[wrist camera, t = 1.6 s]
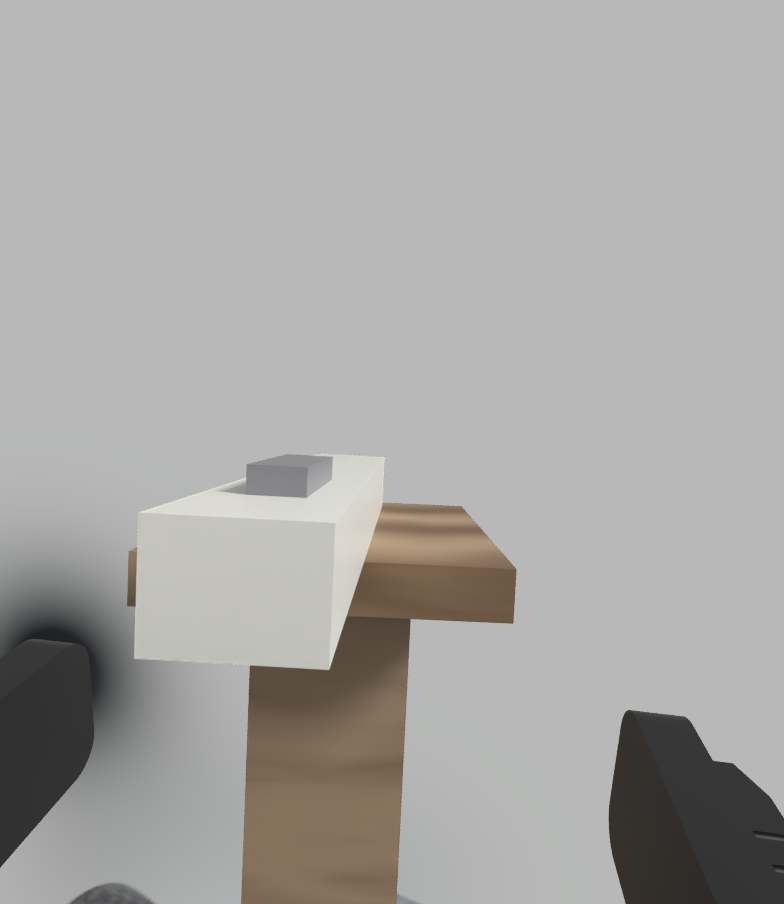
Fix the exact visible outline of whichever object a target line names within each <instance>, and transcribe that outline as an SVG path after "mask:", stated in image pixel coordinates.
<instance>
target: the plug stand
mask: <svg viewBox="0 0 784 904" xmlns="http://www.w3.org/2000/svg"><path fill="white" fill-rule="evenodd" d="M128 562H129V563H128V598H127V600H128V601H127V606H136V571H137V548H135V549H133V550H130V551H129V560H128ZM515 585H516V568H515V567H514V566H513V565H512V564H511V563H510V561H509V560H508V559H507V558H506V557H505V556H504V554H503V553H502V552H501V551H500V550H499V549H498V548H497V546H495V544H494V543H493V542H492V541H491V540H490V539H489V537H488V536H487V535H486V534H485V533H484V532H483V530H482V529H481V528H480V527H479V526H478V525H477V524H476V522H475V521H474V520H473V519H472V518H471V517H470V516H469V515H468V514H467V512H466V511H465V510H464V509H463V508H462V507H461V506H442V505H440V506H439V505H419V504H400V503H382V508H381V511H380V514H379V517H378V521H377V524H376V527H375V530H374V533H373V536H372V539H371V542H370V545H369V548H368V551H367V555H366V558H365V561H364V564H363V567H362V570H361V573H360V576H359V579H358V582H357V585H356V589H355V592H354V595H353V598H352V601H351V604H350V607H349V610H348V613H347V616H346V619H345V623H344V626H343V629H342V632H341V635H340V638H339V641H338V644H337V647H336V650H335V653H334V657H333V660H332V663H331V666H330V669H329V670H321V669H304V668H287V667H270V666H253V665H250V678H249V705H248V733H247V734H248V735H247V760H246V761H247V762H246V787H245V815H244V842H243V870H242V897H241V904H396V898H397V878H398V857H399V838H400V837H399V836H400V818H401V798H402V777H403V758H404V737H405V718H406V698H407V677H408V658H409V638H410V619H425V620H446V621H447V620H448V621H467V622H490V623H512V624H513V618H514V601H515Z"/></svg>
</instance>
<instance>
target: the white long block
mask: <svg viewBox="0 0 784 904" xmlns="http://www.w3.org/2000/svg"><path fill="white" fill-rule="evenodd" d="M384 461H385V457H378V456H358V455H338V454H317V455H314V456H308V455H283V456H279V457H275V458H271V459H266V460H263V461H258V462H254V463H250V464H247V473H246V478H243V479H240V480H237V481H234V482H231V483H228V484H225V485H222V486H219V487H215V488H213V489H209V490H206V491H203V492H200V493H197V494H194V495H191V496H188V497H185V498H182V499H179V500H175V501H173V502H169V503H166V504H163V505H160V506H157V507H154V508H151V509H148V510H145V511H142V512H139V513H138V535H137V571H136V609H135V646H134V649H135V650H134V658H136V659H152V660H169V661H185V662H186V661H187V662H202V663H203V662H204V663H220V664H236V665H253V666H270V667H287V668H304V669H321V670H329V669H330V666H331V663H332V660H333V657H334V653H335V650H336V647H337V644H338V641H339V638H340V635H341V632H342V629H343V626H344V623H345V619H346V616H347V613H348V610H349V607H350V604H351V601H352V598H353V595H354V592H355V589H356V585H357V582H358V579H359V576H360V573H361V570H362V567H363V564H364V561H365V558H366V555H367V551H368V548H369V545H370V542H371V539H372V536H373V533H374V530H375V527H376V524H377V521H378V517H379V514H380V511H381V508H382V503H383V482H384Z"/></svg>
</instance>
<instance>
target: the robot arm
mask: <svg viewBox="0 0 784 904" xmlns="http://www.w3.org/2000/svg"><path fill="white" fill-rule="evenodd" d="M93 740H94V723H93V710H92V696H91V682H90V668H89V659H88V654H87V651H86V649H85V648H84V647H83V646H82V645H79V644H73V643H64V642H55V641H47V640H38V639H30V640H27V641H25V642H23V643H21V644H20V645H18V646H17V647H15V648H14V649H13V650H11V651H10V652H8V653H7V654H6V655H4V656H3V657H1V658H0V867H1V866H2V865H3V864H4V862H5V861H6V860H7V859H8V858H9V857H10V856H11V854H12V853H13V852H14V851H15V850H16V849H17V847H18V846H19V845H20V844H21V843H22V841H24V839H25V838H26V837H27V836H28V835H29V834H30V832H31V831H32V830H33V829H34V828H35V827H36V826H37V824H38V823H39V822H40V821H41V820H42V819H43V817H44V816H45V815H46V814H47V813H48V812H49V811H50V809H51V808H52V807H53V806H54V805H55V803H56V802H57V801H58V800H59V799H60V798H61V797H62V795H63V794H64V793H65V792H66V791H67V790H68V789H69V787H70V786H71V785H72V784H73V783H74V782H75V781H76V779H77V778H78V777H79V775H80V774H81V772H82V771H83V769H84V767H85V765H86V763H87V761H88V758H89V756H90V753H91V749H92V745H93ZM609 834H610V843H611V849H612V855H613V859H614V862H615V866H616V870H617V874H618V877H619V881H620V885H621V888H622V892H623V895H624V899H625V903H626V904H784V818H783V816H782V815H781V813H780V812H779V810H778V809H777V807H776V805H775V804H774V802H773V801H772V799H771V798H770V797H769V796H768V795H767V794H766V793H765V792H764V791H763V790H761V788H759V787H758V786H757V785H756V784H755V783H754V782H753V781H752V780H750V779H749V778H748V777H747V776H746V775H745V774H744V773H743V772H742V771H741V770H739V769H738V768H737V767H736V766H735V765H734V764H733V763H725V762H716V761H713V760H712V759H711V757H710V755H709V753H708V751H707V750H706V748H705V746H704V744H703V743H702V741H701V739H700V737H699V736H698V734H697V732H696V730H695V729H694V727H693V725H692V723H691V722H690V721H689V720H688V719H687V718H686V717H683V716H674V715H665V714H657V713H649V712H640V711H632V710H628V711H626V712H625V714H624V717H623V719H622V724H621V729H620V736H619V744H618V750H617V756H616V763H615V770H614V776H613V784H612V790H611V797H610V805H609Z"/></svg>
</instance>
